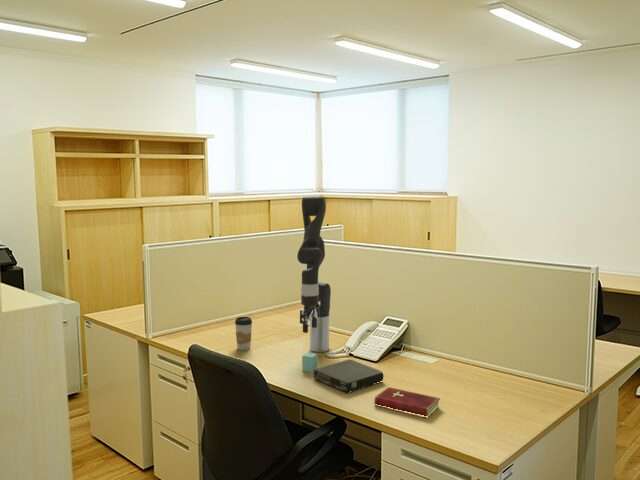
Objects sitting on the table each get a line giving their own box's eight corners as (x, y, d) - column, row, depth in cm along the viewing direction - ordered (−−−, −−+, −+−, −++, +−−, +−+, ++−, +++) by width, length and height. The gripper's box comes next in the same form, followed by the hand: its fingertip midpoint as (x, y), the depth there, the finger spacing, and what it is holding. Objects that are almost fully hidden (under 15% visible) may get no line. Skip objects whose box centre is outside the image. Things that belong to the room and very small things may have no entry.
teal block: (307, 367, 256) (307, 352, 255) (317, 369, 254) (317, 353, 253) (302, 371, 252) (302, 355, 251) (312, 372, 249) (312, 357, 249)
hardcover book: (427, 420, 204) (427, 408, 203) (374, 407, 215) (374, 396, 214) (439, 408, 214) (440, 397, 213) (388, 396, 225) (388, 386, 224)
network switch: (308, 381, 240) (308, 370, 239) (345, 367, 257) (345, 357, 256) (351, 396, 224) (352, 384, 224) (387, 380, 241) (388, 369, 241)
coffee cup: (232, 349, 281) (231, 319, 279) (240, 345, 288) (240, 315, 287) (247, 351, 278) (246, 321, 276) (255, 347, 285) (255, 317, 283)
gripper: (309, 289, 257) (309, 325, 259) (294, 295, 244) (294, 333, 246) (324, 291, 253) (324, 327, 255) (310, 297, 241) (310, 335, 243)
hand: (309, 330), depth 251 cm, fingers open, 8 cm apart
